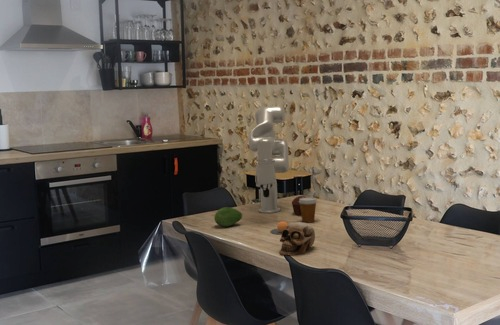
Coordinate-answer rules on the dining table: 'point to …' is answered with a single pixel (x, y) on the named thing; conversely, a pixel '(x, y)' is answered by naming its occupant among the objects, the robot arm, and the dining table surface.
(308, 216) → the disposable coffee cup
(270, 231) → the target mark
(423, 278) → the dining table surface
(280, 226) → the ball
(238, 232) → the dining table surface
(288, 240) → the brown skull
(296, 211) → the muffin
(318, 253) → the dining table surface
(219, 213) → the fruit
